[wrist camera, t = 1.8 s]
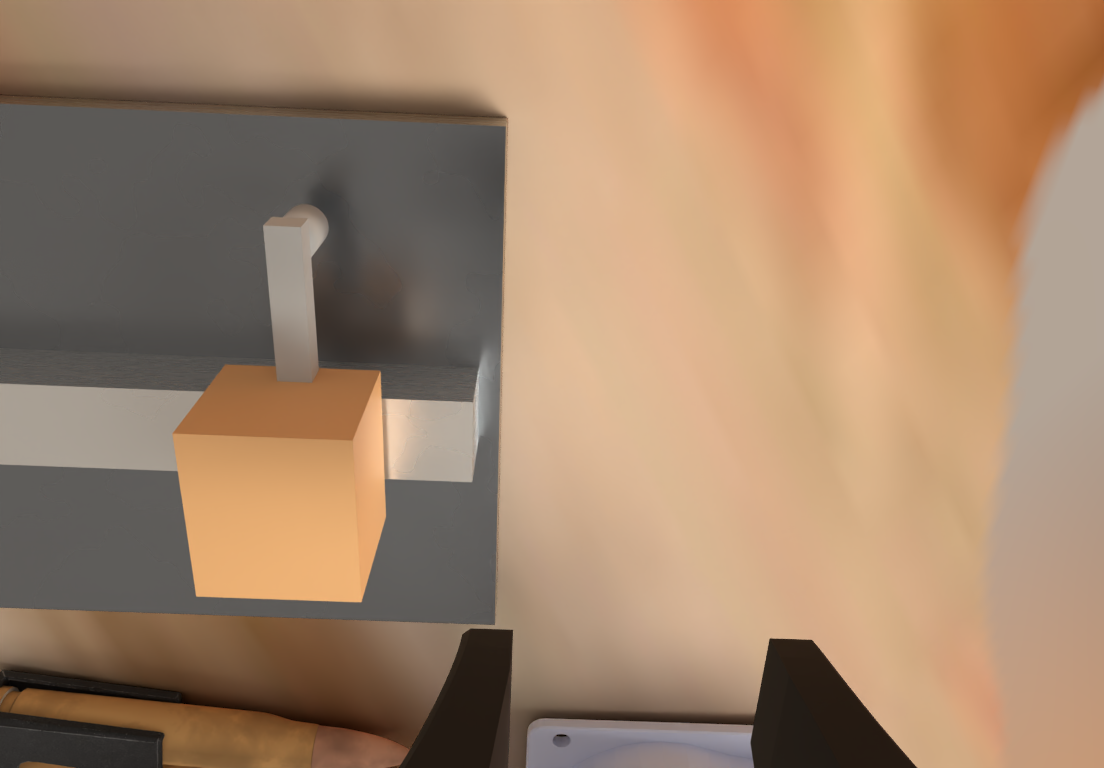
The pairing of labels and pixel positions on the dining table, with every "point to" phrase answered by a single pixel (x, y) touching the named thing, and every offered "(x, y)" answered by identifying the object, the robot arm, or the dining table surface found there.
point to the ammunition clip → (163, 731)
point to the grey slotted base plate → (241, 336)
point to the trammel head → (285, 453)
